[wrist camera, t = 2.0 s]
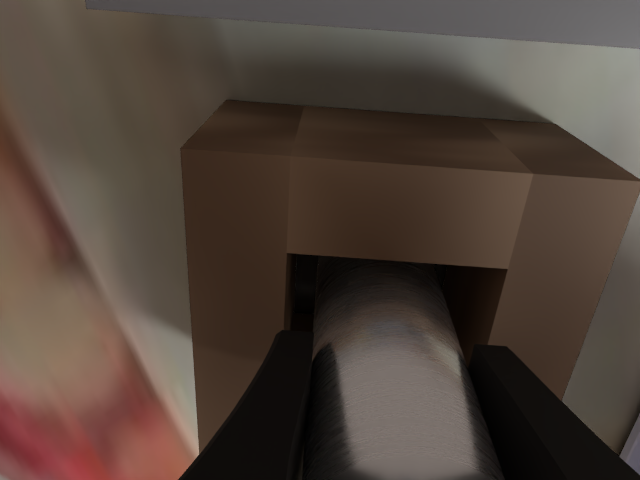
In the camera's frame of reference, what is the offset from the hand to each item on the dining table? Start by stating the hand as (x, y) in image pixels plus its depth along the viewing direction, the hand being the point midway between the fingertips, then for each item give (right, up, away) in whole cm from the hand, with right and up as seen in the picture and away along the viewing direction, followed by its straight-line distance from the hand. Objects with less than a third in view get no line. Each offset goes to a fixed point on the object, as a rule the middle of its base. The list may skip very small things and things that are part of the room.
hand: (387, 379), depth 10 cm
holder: (0, +2, +4) cm, 5 cm away
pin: (0, +2, +4) cm, 5 cm away
